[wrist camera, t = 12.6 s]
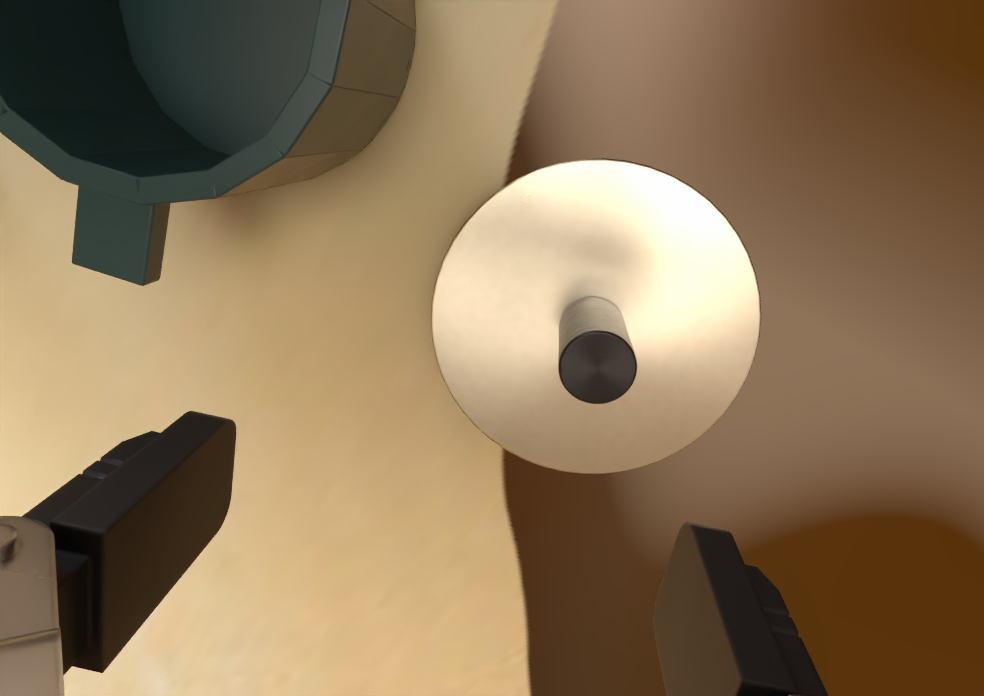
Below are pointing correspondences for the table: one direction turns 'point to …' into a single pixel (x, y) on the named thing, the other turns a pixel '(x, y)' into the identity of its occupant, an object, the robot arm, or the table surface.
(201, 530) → the robot arm
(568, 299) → the lid
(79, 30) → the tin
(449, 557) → the table surface
